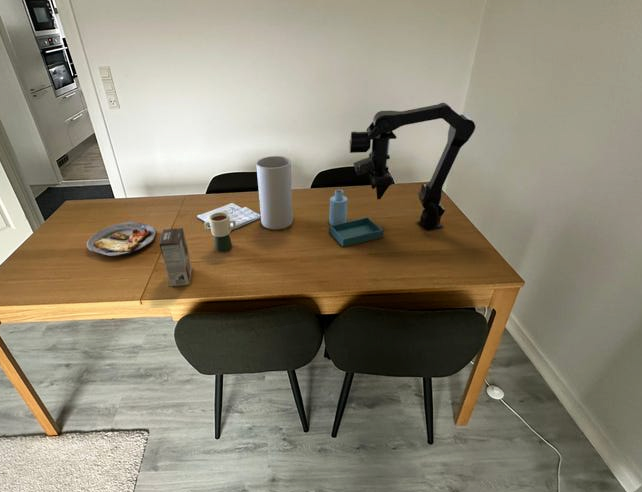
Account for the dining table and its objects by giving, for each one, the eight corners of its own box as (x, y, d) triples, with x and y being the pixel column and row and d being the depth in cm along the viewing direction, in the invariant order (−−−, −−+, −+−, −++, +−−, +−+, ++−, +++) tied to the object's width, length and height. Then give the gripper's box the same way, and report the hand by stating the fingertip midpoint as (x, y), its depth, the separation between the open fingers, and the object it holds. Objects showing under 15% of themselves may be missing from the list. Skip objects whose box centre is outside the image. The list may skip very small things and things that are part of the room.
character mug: (239, 242, 140) (235, 210, 132) (238, 252, 134) (233, 220, 126) (210, 243, 140) (204, 212, 133) (207, 254, 134) (201, 222, 127)
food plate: (168, 233, 149) (166, 225, 146) (127, 265, 132) (124, 256, 130) (121, 223, 158) (118, 215, 156) (76, 251, 141) (73, 243, 139)
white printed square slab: (222, 235, 145) (222, 230, 143) (196, 217, 158) (195, 213, 157) (261, 218, 154) (261, 214, 153) (234, 203, 167) (233, 199, 166)
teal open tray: (366, 223, 145) (367, 217, 144) (382, 237, 137) (383, 230, 135) (329, 232, 142) (329, 225, 140) (342, 246, 133) (343, 239, 131)
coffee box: (173, 270, 127) (162, 228, 118) (192, 268, 127) (183, 227, 118) (169, 287, 120) (158, 244, 111) (190, 285, 120) (180, 242, 111)
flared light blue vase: (341, 217, 151) (342, 186, 144) (348, 224, 146) (350, 193, 139) (326, 220, 150) (327, 189, 142) (333, 227, 145) (335, 196, 137)
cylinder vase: (256, 228, 148) (250, 166, 133) (268, 213, 157) (264, 155, 143) (286, 232, 144) (283, 169, 129) (296, 217, 153) (295, 157, 139)
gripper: (351, 144, 136) (349, 184, 145) (360, 162, 121) (358, 206, 130) (382, 142, 135) (378, 183, 144) (396, 160, 120) (390, 204, 129)
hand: (375, 193), depth 137 cm, fingers open, 9 cm apart
